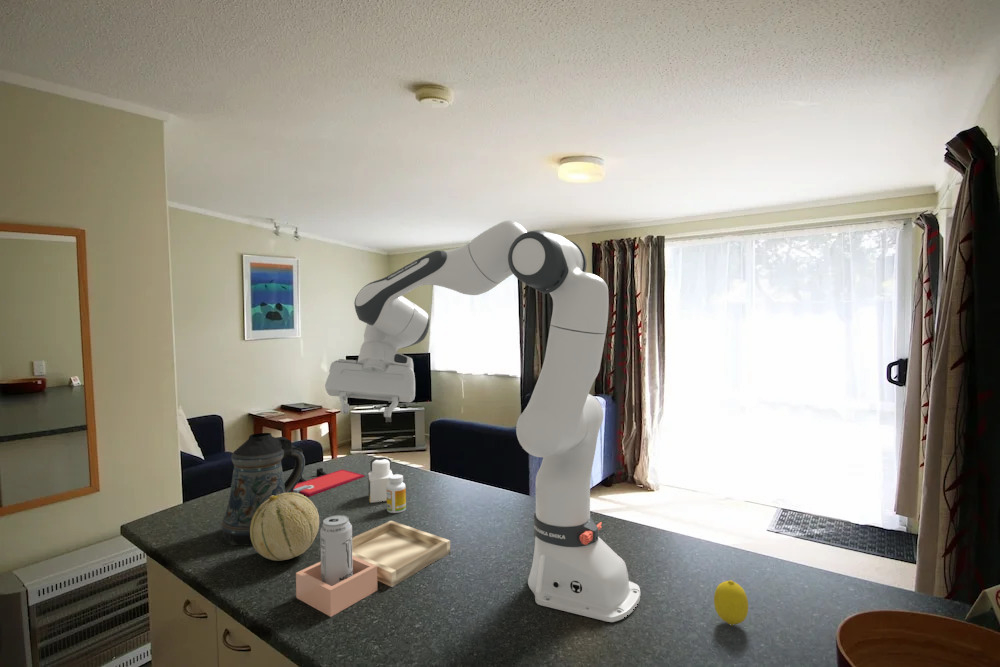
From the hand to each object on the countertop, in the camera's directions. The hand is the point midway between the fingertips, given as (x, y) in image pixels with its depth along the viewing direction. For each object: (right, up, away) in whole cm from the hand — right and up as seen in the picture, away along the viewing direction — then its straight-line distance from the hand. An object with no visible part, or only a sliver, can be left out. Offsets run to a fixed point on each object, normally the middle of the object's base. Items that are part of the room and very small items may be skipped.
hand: (365, 414), depth 112 cm
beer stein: (-32, -33, +19) cm, 50 cm away
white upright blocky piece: (-6, -32, +41) cm, 53 cm away
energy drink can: (-2, -34, -12) cm, 36 cm away
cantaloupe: (-19, -34, +4) cm, 39 cm away
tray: (+5, -33, +4) cm, 34 cm away
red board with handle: (-31, -32, +53) cm, 69 cm away
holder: (-2, -34, -12) cm, 36 cm away
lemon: (+71, -34, -23) cm, 82 cm away
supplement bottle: (0, -33, +32) cm, 45 cm away
